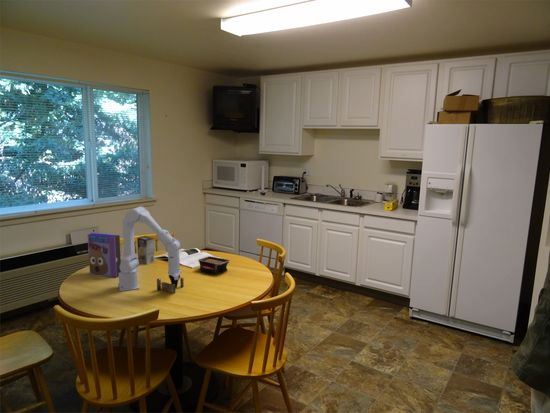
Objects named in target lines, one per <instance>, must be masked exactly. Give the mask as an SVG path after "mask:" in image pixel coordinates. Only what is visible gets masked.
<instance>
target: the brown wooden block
mask: <svg viewBox="0 0 550 413" xmlns="http://www.w3.org/2000/svg"><path fill="white" fill-rule="evenodd" d="M161 291H164V292H168V293H172V294H175V293H176V288H175V284H171V283H169V282H165V281H161Z"/></svg>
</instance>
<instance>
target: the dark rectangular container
mask: <svg viewBox="0 0 550 413" xmlns="http://www.w3.org/2000/svg"><path fill="white" fill-rule="evenodd" d="M197 261H198V263H199V272H200V273H203V274H208V275H216V274H217V273H218V272H219V271H220V272H221V271H228V269H227V266H228V264H229V263H230V261H231V260H230V259H226V258H222V257H221V258H220V257H216V256H210V255H209V256H205V257H202V258H199V259H198V260H197Z"/></svg>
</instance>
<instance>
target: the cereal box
mask: <svg viewBox="0 0 550 413" xmlns="http://www.w3.org/2000/svg"><path fill="white" fill-rule="evenodd" d="M86 237H87V245H88V246H87V249H88V250H87V251H88V263H89V264H88V265H89V275H90V274H91V275H92V276H97V275H98V276H99V277H105V276H106V277H107V278H115V279H116V278H119V273H120V272H121V270H120V264H121V259H122V257H121V243H120V242H121V240H120V239H121V238H120V237H121V236H120V235H119V234H111V233H110V234H108V233H100V232H99V233H98V232H91V233H89V234H87V236H86ZM91 275H90V276H91Z"/></svg>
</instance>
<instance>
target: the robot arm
mask: <svg viewBox="0 0 550 413" xmlns="http://www.w3.org/2000/svg"><path fill="white" fill-rule="evenodd" d="M136 223H142V224H143V223H144V224H146V225H147V226H148V227H149V229H151V230H152V231H153V232H155V234H156V238H157V239H158V240H159V241H160V242H161V243H162V245H163V246H165V250H166V253H167V262H168V264H167V266H168V269H167V270H168V272H167V274H168V278H169V280H170V284H175V289H177V287H178V284H179V280H180V278H181V275H180V274H181V273H183V270H181V268H180V267H181V266H180V264H181V263H180V262H181V261H180V250H181V247H182V244H181V241H180V240H178V239H176V238H174V237H173V235H171V234H170V231H169V230H167V229H162V228H161V226H160V225H159V224H158V223H157V221H156V220H155V219H154V218H153V216H152V215H151V213H150V212H149V211H148V210H147V209H146V207H144V206H141V205H140V206H138V207H134V208H132V209H129V210H127V211H126V212H125V215H124V217H123V220H122V242H123V246H122V248H123V255H122V257H121V264H120V270H121V272H120V273H119V277H118V285H117V286H118V287H119V292H124V291H131V290H132V291H134V290H138V289H140V286H139V283H138V267H139V265H140V262H139V261H138V254H137V253H135V252H136V251H135V250H136V248H135V224H136Z"/></svg>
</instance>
